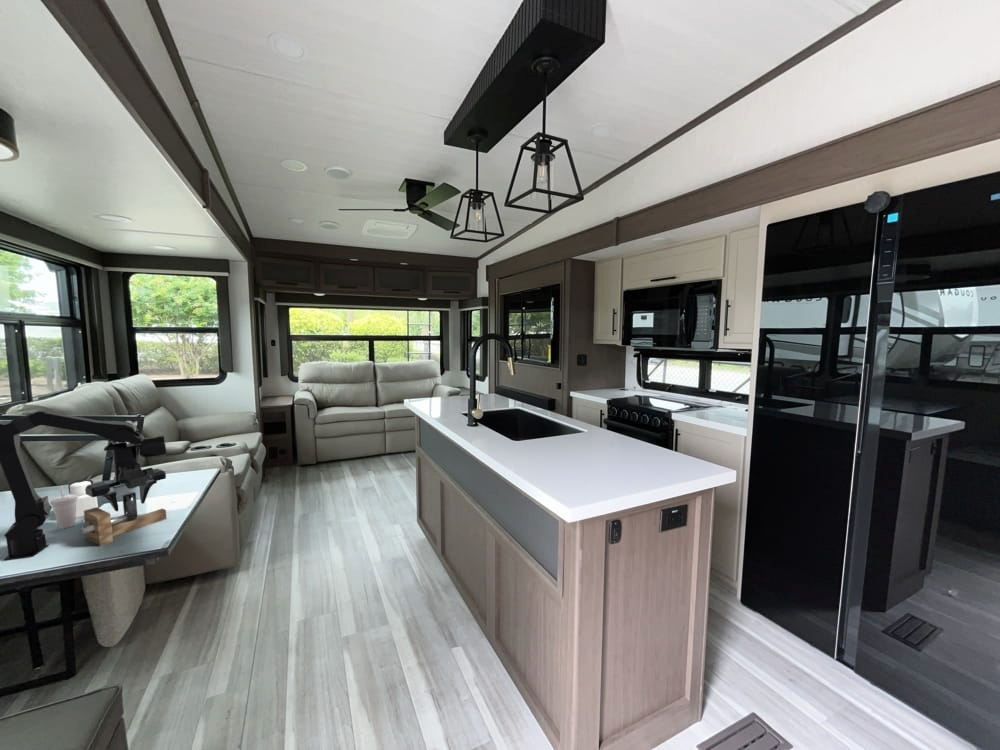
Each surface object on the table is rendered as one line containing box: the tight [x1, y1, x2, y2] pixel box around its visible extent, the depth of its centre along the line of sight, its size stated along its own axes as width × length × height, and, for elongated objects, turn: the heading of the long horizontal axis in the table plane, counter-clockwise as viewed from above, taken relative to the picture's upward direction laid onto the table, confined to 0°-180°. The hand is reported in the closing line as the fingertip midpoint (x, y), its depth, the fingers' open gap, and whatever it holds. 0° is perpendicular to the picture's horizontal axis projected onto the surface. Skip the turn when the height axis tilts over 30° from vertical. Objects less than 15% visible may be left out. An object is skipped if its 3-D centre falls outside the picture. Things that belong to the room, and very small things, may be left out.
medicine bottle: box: [68, 479, 99, 519], centre depth 143 cm, size 7×7×12 cm
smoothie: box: [49, 485, 78, 530], centre depth 134 cm, size 6×6×14 cm
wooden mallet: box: [84, 507, 167, 547], centre depth 132 cm, size 18×10×9 cm, turn 152°
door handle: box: [81, 491, 139, 535], centre depth 128 cm, size 13×3×8 cm, turn 152°
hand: (130, 507), depth 132 cm, fingers open, 6 cm apart
